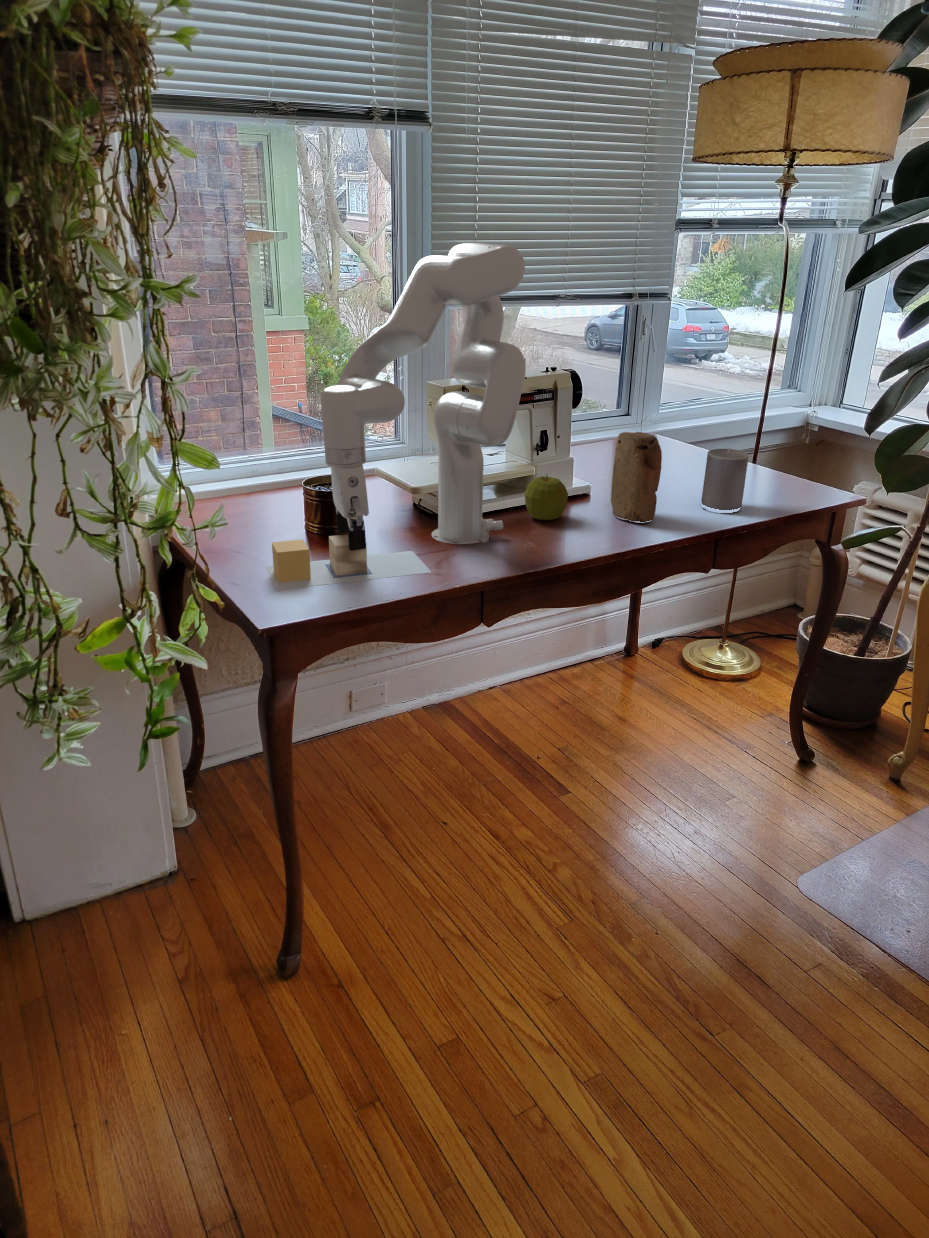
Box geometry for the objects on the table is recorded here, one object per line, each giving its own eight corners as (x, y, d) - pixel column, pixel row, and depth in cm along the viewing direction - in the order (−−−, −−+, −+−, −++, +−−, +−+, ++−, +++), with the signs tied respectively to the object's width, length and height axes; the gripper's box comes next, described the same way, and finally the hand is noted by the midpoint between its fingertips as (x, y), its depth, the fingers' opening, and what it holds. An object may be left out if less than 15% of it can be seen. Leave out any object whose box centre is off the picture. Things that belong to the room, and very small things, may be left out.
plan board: (412, 556, 191) (412, 550, 191) (431, 578, 180) (431, 571, 179) (266, 571, 182) (265, 565, 181) (277, 596, 170) (276, 589, 170)
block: (606, 514, 220) (613, 431, 212) (631, 510, 223) (639, 428, 215) (634, 527, 211) (642, 440, 203) (660, 523, 214) (669, 437, 206)
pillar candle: (699, 501, 231) (706, 442, 225) (739, 503, 230) (747, 444, 223) (702, 513, 222) (709, 452, 216) (743, 515, 221) (752, 454, 215)
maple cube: (359, 562, 184) (358, 533, 181) (367, 572, 179) (366, 543, 176) (330, 565, 182) (328, 536, 179) (336, 575, 177) (335, 546, 174)
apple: (529, 526, 211) (531, 479, 206) (519, 513, 219) (521, 468, 215) (571, 524, 212) (574, 478, 208) (559, 512, 221) (562, 467, 216)
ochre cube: (304, 568, 180) (303, 539, 178) (310, 579, 175) (309, 549, 173) (273, 571, 178) (271, 542, 176) (279, 582, 173) (277, 552, 171)
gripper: (377, 464, 165) (382, 553, 172) (353, 441, 180) (359, 524, 187) (336, 469, 163) (342, 559, 170) (315, 445, 177) (323, 529, 185)
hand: (351, 540), depth 179 cm, fingers open, 9 cm apart
